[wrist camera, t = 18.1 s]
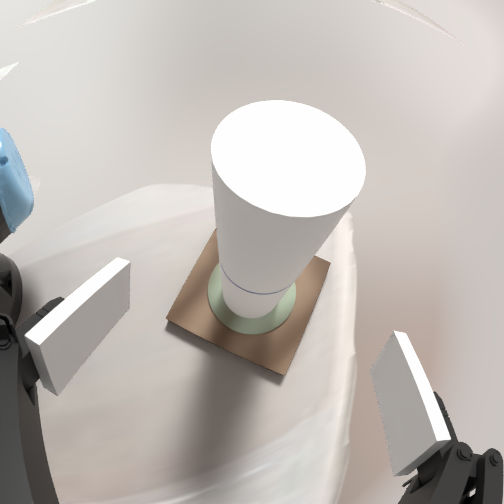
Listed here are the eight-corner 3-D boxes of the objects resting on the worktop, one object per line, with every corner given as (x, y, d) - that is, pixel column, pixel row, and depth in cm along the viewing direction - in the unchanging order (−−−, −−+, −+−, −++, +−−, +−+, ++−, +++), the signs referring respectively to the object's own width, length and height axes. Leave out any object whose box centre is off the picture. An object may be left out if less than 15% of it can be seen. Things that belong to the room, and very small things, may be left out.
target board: (168, 320, 35) (165, 317, 33) (224, 219, 41) (223, 213, 39) (282, 374, 33) (285, 375, 32) (327, 266, 39) (331, 262, 37)
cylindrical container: (210, 285, 35) (180, 136, 12) (255, 252, 37) (291, 87, 14) (247, 330, 33) (287, 252, 10) (291, 294, 35) (391, 168, 12)
